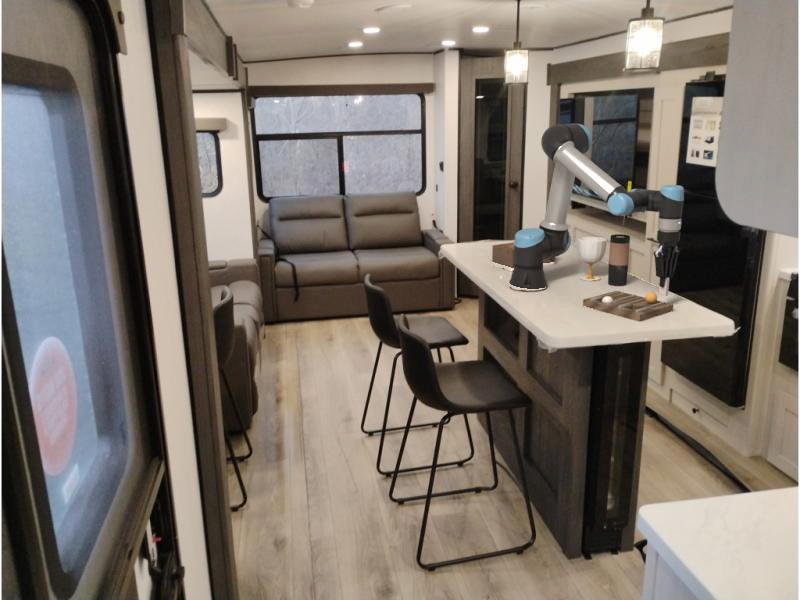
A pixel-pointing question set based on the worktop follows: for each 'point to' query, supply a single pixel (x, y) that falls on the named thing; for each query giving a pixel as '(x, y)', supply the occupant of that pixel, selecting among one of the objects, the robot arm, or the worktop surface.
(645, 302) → the hole deck
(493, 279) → the worktop surface
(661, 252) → the robot arm
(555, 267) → the worktop surface
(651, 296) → the orange ball
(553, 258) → the tissue box cover
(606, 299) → the cream ball
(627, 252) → the travel mug
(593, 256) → the cup
